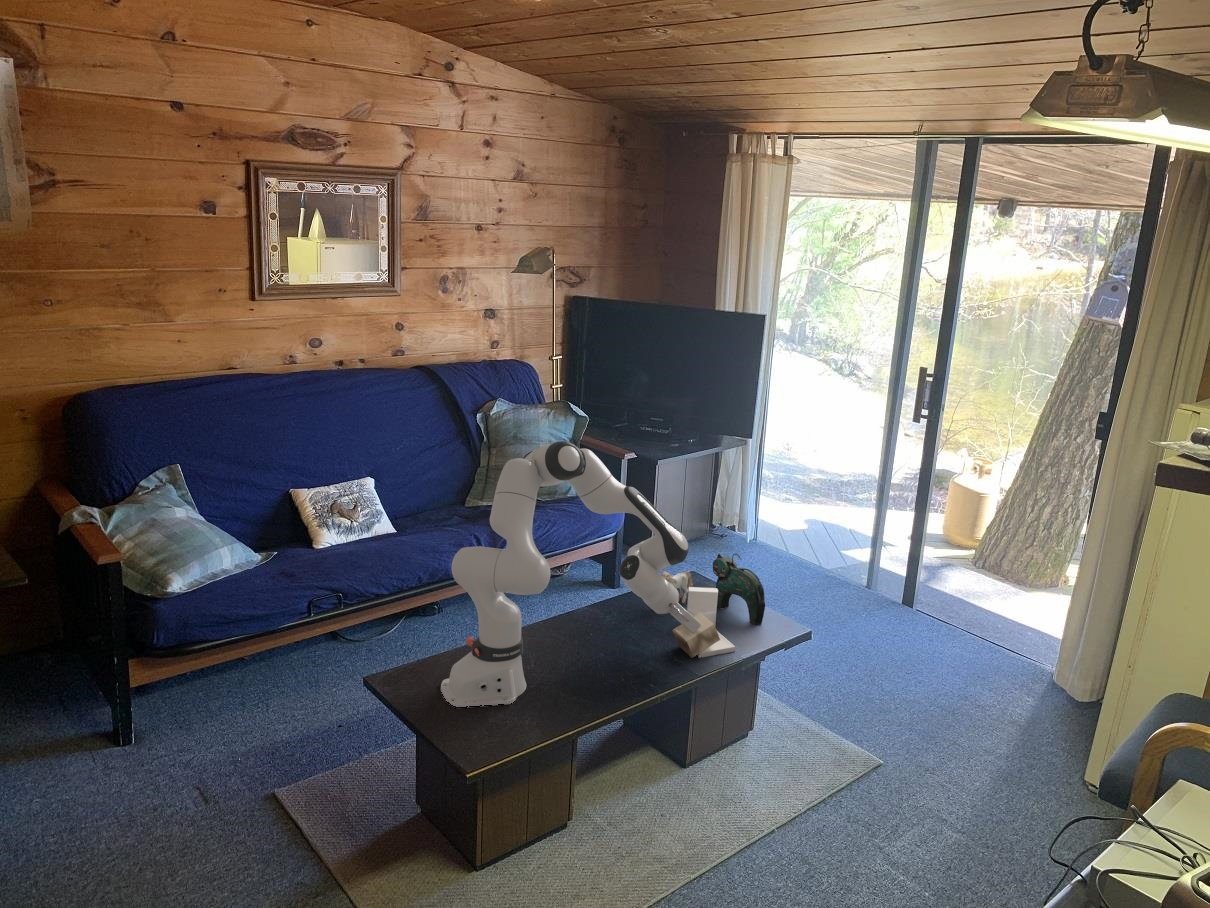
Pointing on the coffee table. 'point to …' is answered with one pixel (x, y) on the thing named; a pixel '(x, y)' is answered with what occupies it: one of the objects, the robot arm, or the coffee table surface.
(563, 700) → the coffee table surface
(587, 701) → the coffee table surface
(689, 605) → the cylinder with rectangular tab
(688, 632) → the birch block
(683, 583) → the unicorn figurine
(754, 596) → the ceramic cat
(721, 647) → the board
